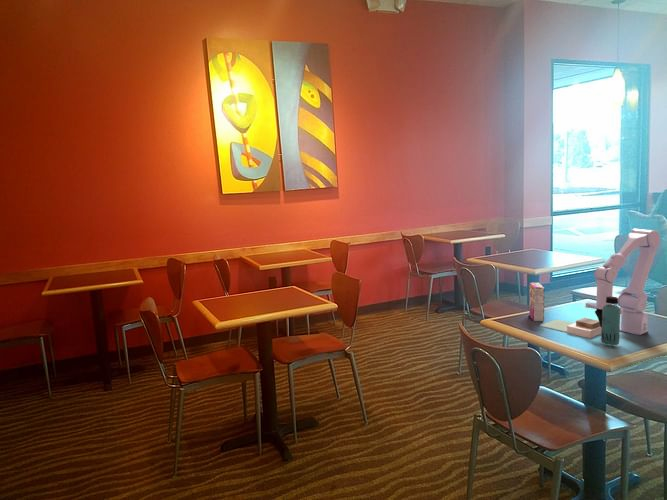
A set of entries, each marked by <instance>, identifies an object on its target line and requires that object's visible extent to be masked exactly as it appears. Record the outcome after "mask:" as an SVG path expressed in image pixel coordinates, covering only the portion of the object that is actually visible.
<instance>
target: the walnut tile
mask: <svg viewBox="0 0 667 500" xmlns="http://www.w3.org/2000/svg"><path fill="white" fill-rule="evenodd" d="M575 323H576V325H577V326H581V327H586V328H590V329H593V328H596V327H599V326H600V323H599V320H598V319H593V318H587V317H583V318H580V319H578V320H576V321H575Z"/></svg>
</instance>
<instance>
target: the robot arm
mask: <svg viewBox="0 0 667 500" xmlns="http://www.w3.org/2000/svg"><path fill="white" fill-rule="evenodd" d="M660 242H661V235H660V232H659V231H658V230H657V229H640V228H633V229H631V231H630V232H629V233H628V235H627V240H626V241H625V243H624V244H623V246H622V247H621V248H620V249H619V251H618V252H617V253H613V254H610V257H608V259H607V260H606V262H604V264H603V265H602V266H599V267H596V269H595V270H594V273H593V277H594V280H595V283H596V301H595V302H585V308H586V309H592V310H593V309H594V313H595V315H596V317H597V320H598V321H599V323H600V327H602V313H603V307H604V306H605V305H608V304H611V303H606V298H607V297H613V288H614V285H613V284H614V282H615V280H616V279H617V277H618V274H619V271H620V270H621V268H622V267H623V266H624V265H625V264H626V261H627V260H626V258H628V256H630V254H631V253H632V252H633V251H635V250H636V249H637V250H638V251H639V255H638V257H637V261H636V265H635V266H634V270H633V272H632V276H631V279H630V283H629V285H628V286H627V287H625V288H623V289H622V290H621V293H620V295H618V297H617V298H618V303H617V306H618V307H619V308H620V309H621V311H620V332H624V333H629V334H634V335H637V336H641V335H643V334H645V333H648V332H649V329H648V328H649V315H648V313H646V312H644V311H645V310H646V309H647V306H648V304H647V301H648V298H649V297H648V295H647V294H646V293H645V291H644V289H645V286H646V282H647V280H648V276H649V274H650V272H651V271H650V270H651V267H652V265H653V261H654V258H655V257H656V252H657V250H658V247H659V245H660ZM611 305H613V304H611Z"/></svg>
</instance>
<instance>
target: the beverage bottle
mask: <svg viewBox="0 0 667 500" xmlns="http://www.w3.org/2000/svg"><path fill="white" fill-rule="evenodd" d="M606 303H611V304H612V305H611V304H608V305H605V306H604V307H603V313H602V327H601V328H602V330H601V332H602V333H601V335H600V337H601V338H600V340H601V344H605V345H606V346H608V345H609V346H619V344H620V333H621V331H620V327H621V314H620V311H621V309H620V306H619V305H618V297H616V296H612V297H607V298H606ZM616 304H617V305H616Z"/></svg>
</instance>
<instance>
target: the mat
mask: <svg viewBox="0 0 667 500" xmlns="http://www.w3.org/2000/svg"><path fill="white" fill-rule="evenodd" d="M574 323H575V322H570V321H565V320H562V319H553V320H551V321H548V322H545V323H541V324H539V327H543V328H545V329H550V330H555V331H558V332H563V333H567V326H568V325H571V324H574Z"/></svg>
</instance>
